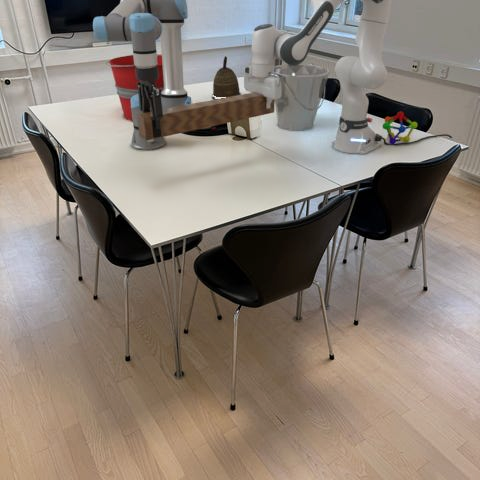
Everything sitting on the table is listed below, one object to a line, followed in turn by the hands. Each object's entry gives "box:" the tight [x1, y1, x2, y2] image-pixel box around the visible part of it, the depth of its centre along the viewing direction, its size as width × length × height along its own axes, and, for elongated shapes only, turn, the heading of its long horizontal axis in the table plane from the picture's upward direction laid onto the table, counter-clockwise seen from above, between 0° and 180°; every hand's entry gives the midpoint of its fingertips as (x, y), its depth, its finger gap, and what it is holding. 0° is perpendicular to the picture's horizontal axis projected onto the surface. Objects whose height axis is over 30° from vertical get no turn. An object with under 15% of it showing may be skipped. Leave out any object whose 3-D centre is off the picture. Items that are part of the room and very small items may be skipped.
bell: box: [212, 56, 242, 97], centre depth 278 cm, size 19×26×20 cm
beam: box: [137, 92, 275, 141], centre depth 168 cm, size 57×6×8 cm, turn 125°
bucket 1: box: [105, 54, 164, 122], centre depth 239 cm, size 35×35×30 cm
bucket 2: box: [274, 63, 330, 131], centre depth 226 cm, size 30×30×28 cm
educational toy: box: [382, 110, 418, 144], centre depth 207 cm, size 16×13×15 cm
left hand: (153, 134), depth 158 cm, fingers closed on beam, 6 cm apart
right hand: (262, 106), depth 181 cm, fingers closed on beam, 5 cm apart
